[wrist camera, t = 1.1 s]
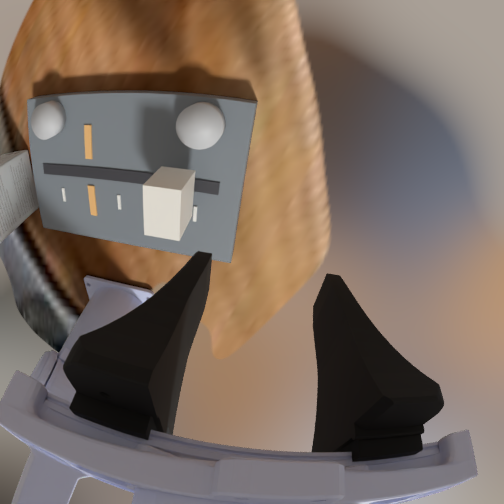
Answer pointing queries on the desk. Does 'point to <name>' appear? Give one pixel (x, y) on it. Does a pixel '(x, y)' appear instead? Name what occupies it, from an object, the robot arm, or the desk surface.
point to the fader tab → (168, 202)
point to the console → (139, 163)
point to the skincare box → (16, 191)
